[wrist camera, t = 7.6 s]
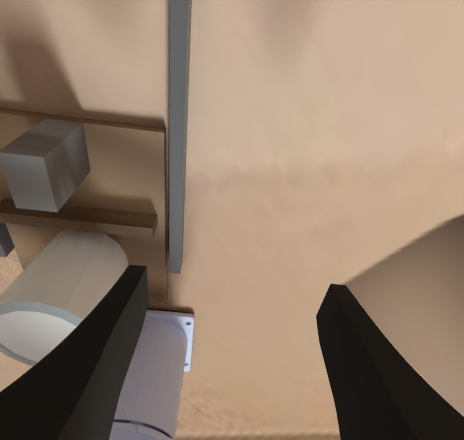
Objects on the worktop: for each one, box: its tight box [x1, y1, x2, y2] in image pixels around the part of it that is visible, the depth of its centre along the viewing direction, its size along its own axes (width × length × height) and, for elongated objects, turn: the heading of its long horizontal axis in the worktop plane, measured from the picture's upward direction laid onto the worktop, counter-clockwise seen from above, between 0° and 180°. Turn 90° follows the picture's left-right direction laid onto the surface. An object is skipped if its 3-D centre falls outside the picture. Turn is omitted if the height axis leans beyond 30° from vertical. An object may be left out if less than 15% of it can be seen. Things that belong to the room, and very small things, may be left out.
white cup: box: [0, 230, 128, 366], centre depth 21 cm, size 7×7×7 cm
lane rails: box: [0, 0, 192, 274], centre depth 18 cm, size 18×13×1 cm
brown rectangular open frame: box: [0, 109, 167, 303], centre depth 20 cm, size 15×11×5 cm
